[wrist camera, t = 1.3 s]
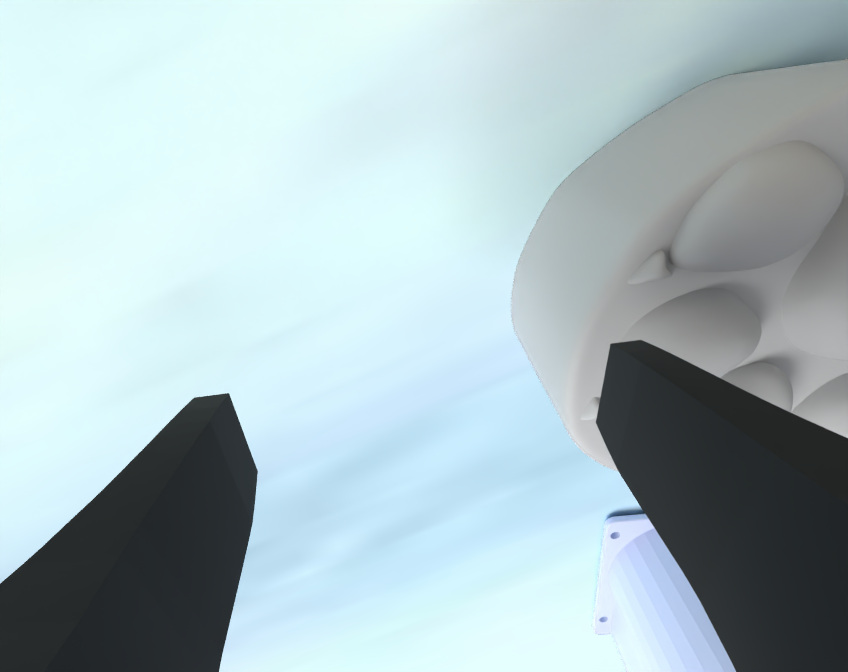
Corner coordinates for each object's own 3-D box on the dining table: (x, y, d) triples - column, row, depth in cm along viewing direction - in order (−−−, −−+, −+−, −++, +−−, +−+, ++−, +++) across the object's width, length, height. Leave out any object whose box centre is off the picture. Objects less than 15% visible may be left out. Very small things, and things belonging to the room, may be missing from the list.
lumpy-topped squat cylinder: (848, 263, 20) (1145, 360, 12) (577, 421, 22) (670, 583, 15) (768, 26, 16) (1127, -64, 8) (455, 252, 19) (492, 349, 11)
